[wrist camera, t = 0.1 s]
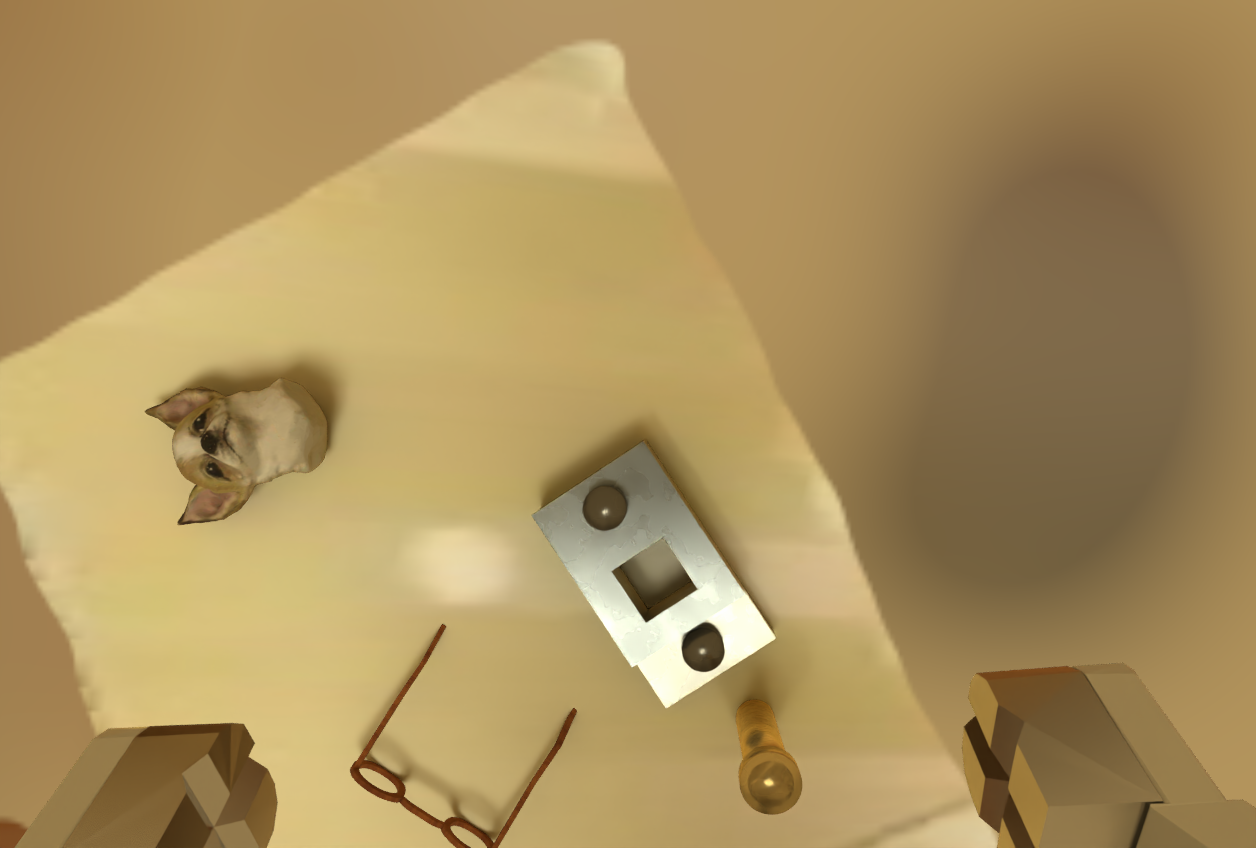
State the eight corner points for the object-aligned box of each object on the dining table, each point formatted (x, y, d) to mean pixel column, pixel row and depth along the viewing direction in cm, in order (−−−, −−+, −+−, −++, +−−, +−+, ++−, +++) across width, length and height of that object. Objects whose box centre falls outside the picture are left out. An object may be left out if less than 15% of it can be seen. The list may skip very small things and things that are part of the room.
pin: (790, 726, 63) (814, 793, 52) (747, 753, 63) (762, 826, 52) (762, 683, 63) (779, 741, 52) (719, 710, 63) (727, 774, 52)
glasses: (362, 756, 66) (336, 784, 61) (443, 621, 65) (423, 639, 60) (498, 843, 65) (483, 879, 60) (581, 708, 65) (573, 734, 60)
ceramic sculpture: (314, 489, 56) (126, 545, 58) (369, 477, 65) (204, 526, 67) (271, 342, 56) (85, 403, 58) (332, 350, 65) (168, 403, 67)
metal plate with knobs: (773, 630, 63) (781, 651, 58) (666, 699, 64) (665, 725, 58) (645, 439, 63) (642, 442, 58) (540, 508, 64) (528, 517, 59)
